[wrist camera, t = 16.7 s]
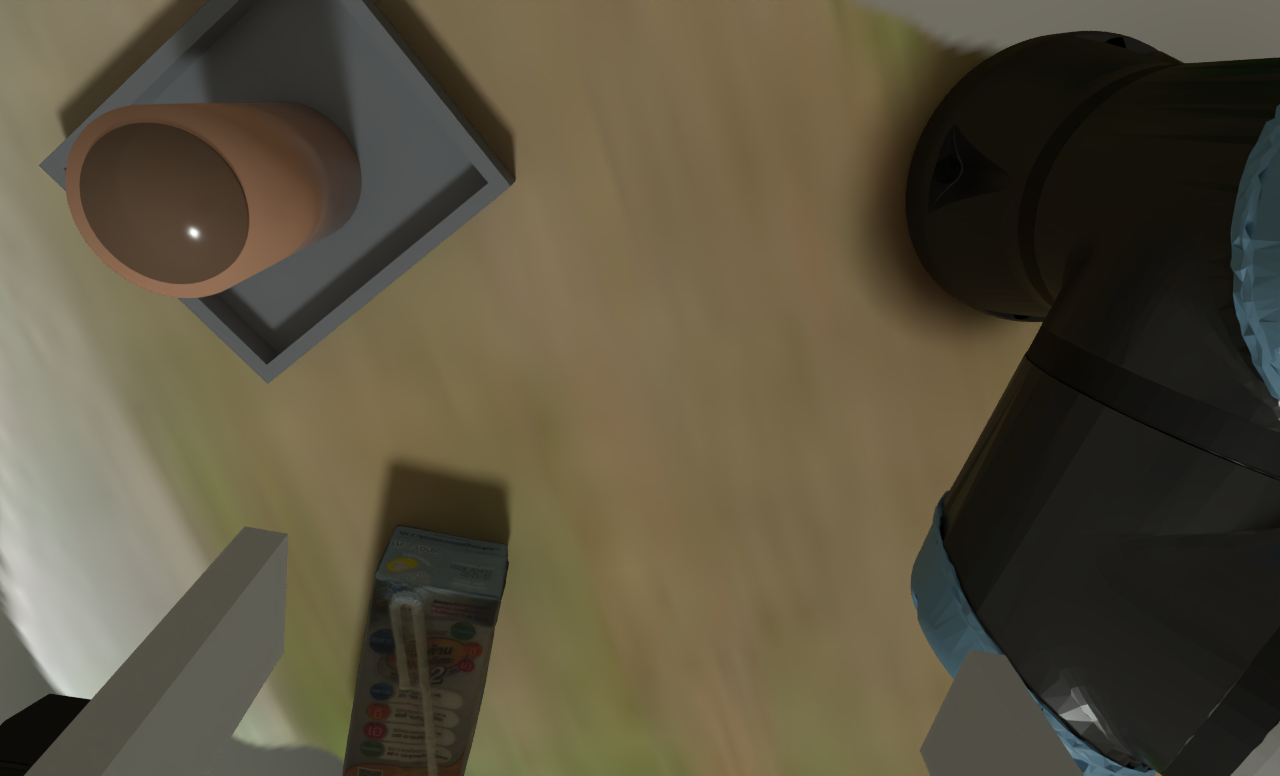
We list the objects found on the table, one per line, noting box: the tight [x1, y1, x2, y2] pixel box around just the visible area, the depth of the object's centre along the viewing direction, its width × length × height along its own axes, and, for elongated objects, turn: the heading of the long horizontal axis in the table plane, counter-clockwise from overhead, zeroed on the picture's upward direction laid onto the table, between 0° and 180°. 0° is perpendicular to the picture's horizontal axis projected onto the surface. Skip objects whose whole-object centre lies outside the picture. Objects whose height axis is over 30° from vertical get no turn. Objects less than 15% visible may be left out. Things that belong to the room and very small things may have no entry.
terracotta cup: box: [65, 101, 362, 298], centre depth 32 cm, size 7×7×12 cm
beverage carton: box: [343, 526, 509, 776], centre depth 48 cm, size 8×19×7 cm, turn 165°
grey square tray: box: [39, 0, 515, 384], centre depth 38 cm, size 15×18×2 cm
